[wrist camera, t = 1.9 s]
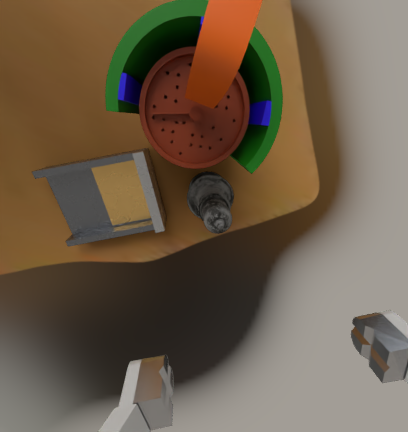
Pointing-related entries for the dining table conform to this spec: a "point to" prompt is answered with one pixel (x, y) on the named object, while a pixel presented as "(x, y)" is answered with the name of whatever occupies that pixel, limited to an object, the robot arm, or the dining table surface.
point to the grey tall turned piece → (211, 201)
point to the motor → (199, 82)
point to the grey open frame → (107, 196)
